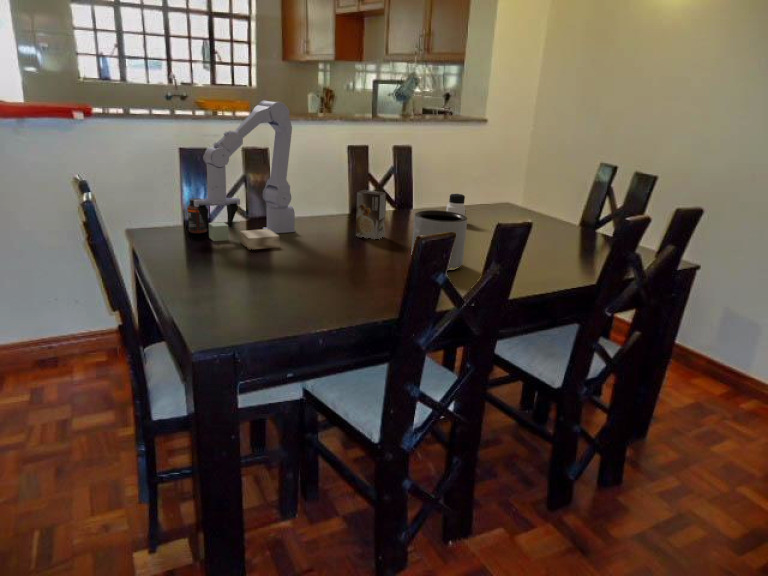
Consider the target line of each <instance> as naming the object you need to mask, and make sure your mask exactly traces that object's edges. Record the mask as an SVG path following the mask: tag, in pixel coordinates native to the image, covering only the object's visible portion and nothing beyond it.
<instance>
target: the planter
mask: <svg viewBox="0 0 768 576" xmlns="http://www.w3.org/2000/svg"><path fill="white" fill-rule="evenodd" d="M413 217H414V218H413V232H412V241H411V249H410V250H411V252H410V256H411V255H412V251H413V247H414V243H415V240H416V237H417V236H420V235H430V234H437V233H444V232H455V233H456V240H455V244H454V248H453V251H452V255H451V259H450V264H449V268H451V267H452V268H456V267H460V266H461V265H462V266H463V264H464V257H465V245H466V244H465V243H466V238H467V237H466V235H467V226H468V217H467V216H466V215H465V216H464V215H462V214H458V213H454V212H448V211H446V210H439V209H438V210H435V209H434V210H431V209H429V210H427V209H426V210H420V211H417V212H415V213H414V216H413ZM462 266H461V267H462ZM461 267H460V268H461ZM449 268H448V269H449Z"/></svg>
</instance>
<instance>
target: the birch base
mask: <svg viewBox="0 0 768 576" xmlns="http://www.w3.org/2000/svg"><path fill="white" fill-rule="evenodd" d="M239 242H240V243H241V244H242V245H243V246H244V247H245V248H246V247H247V248H246V249H247V250H251V249H252V250H262V249H275V248H280V235H279V234H278V233H274V232H273V231H271V230H270V229H263V228H262V229H250V230H239Z"/></svg>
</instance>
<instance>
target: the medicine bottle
mask: <svg viewBox="0 0 768 576" xmlns="http://www.w3.org/2000/svg"><path fill="white" fill-rule="evenodd" d="M465 199H466V196H465V195H464V194H462V193H451V194H449V200H448V203H446V209H445V211H448V212H454V213H458V214H462V215H464V216H466V212H467V211H466V210H467V209H466V206H465Z"/></svg>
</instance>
